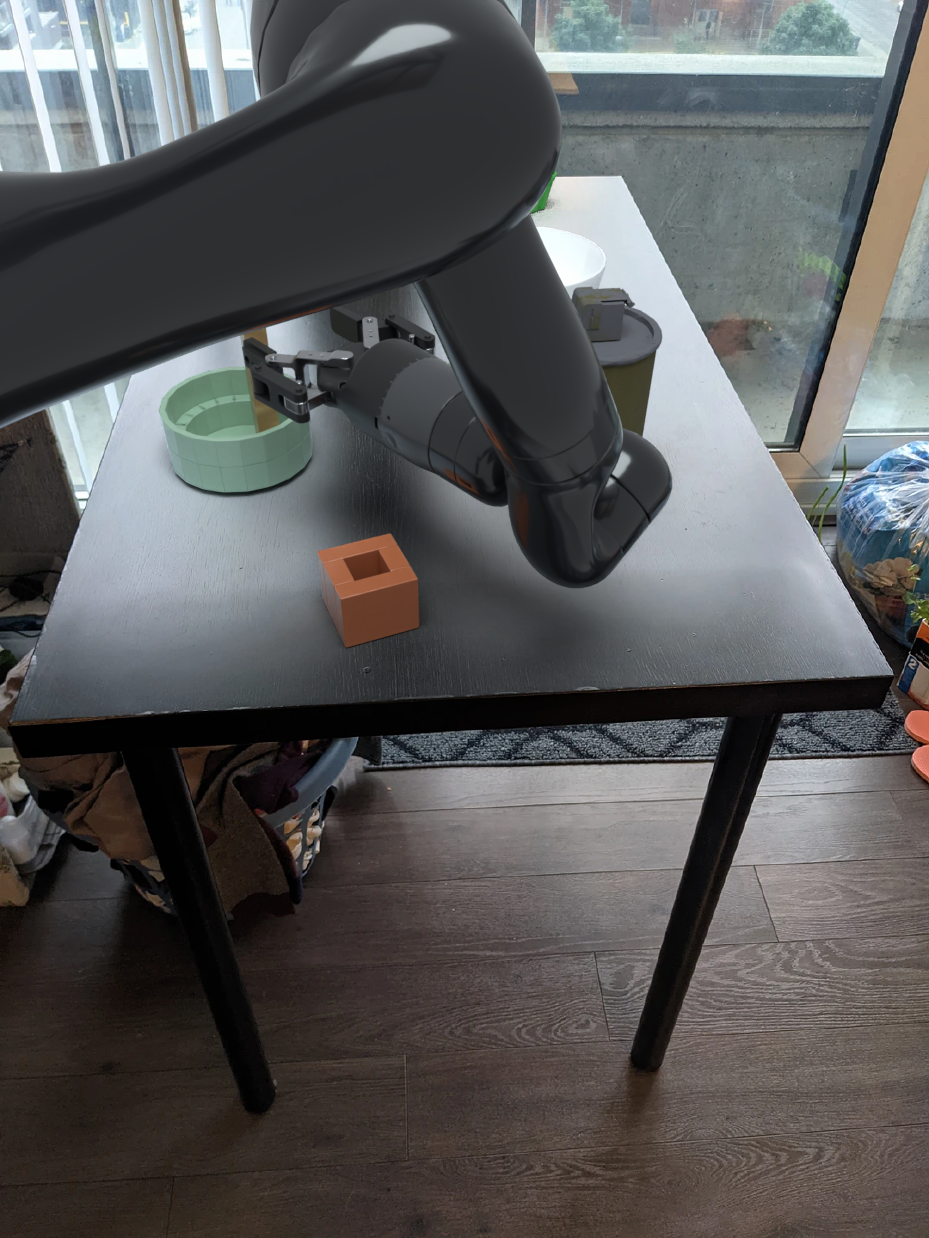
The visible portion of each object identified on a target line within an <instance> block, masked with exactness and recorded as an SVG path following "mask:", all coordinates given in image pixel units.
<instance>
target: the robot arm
mask: <svg viewBox="0 0 929 1238" xmlns="http://www.w3.org/2000/svg"><path fill="white" fill-rule="evenodd" d="M251 3H252V4H251V13H250V24H249V37H250V49H251V61H252V62H251V63H252V70H253V77H254V80H255V83H256V87H257V91H258V94H259V99H258V100H255V101H254V102H253V103H251V104H249V105H247V106H244V107H243V108H241V109H239V110H237V111H235V112H234V113H231V114H230V115H228V116H226V117H223V118H221V119H219V120H217V121H214V122H212V123H210V124H208V125H206V126H204V127H203V126H202V127H201V128H199V129H197V130H194V131H192V132H190V133H188V134H186V135H183V136H181V137H179V138H177V139H175V140H172V141H170V142H167V143H165V144H163V145H161V146H159V147H157V148H154V149H151V150H149V151H146V152H143V153H140V154H137V155H135V156H132V157H129V158H126V159H122V160H118V161H116V162H110V163H107V164H103V165H98V166H95V167H89V168H82V169H75V170H74V169H73V170H68V171H10V170H9V171H8V170H0V430H2V429H5V428H6V427H8V426H11V425H12V424H14V423H17V422H19V421H21V420H23V419H26V418H27V417H30V416H32V415H34V414H36V413H39V412H41V411H44V410H46V409H50V408H52V407H54V406H56V405H60V404H62V403H64V402H66V401H70V400H71V399H74V398H76V397H77V398H78V397H80V396H82V395H84V394H88V393H90V392H93V391H95V390H98V389H100V388H103V387H105V386H107V385H110V384H113V383H116V382H118V381H120V380H123V379H126V378H128V377H131V376H134V375H136V374H138V373H141V372H144V371H146V370H149V369H152V368H154V367H156V366H159V365H162V364H164V363H167V362H170V361H173V360H175V359H178V358H181V357H183V356H186V355H188V354H191V353H194V352H196V351H198V350H201V349H204V348H207V347H210V346H213V345H215V344H218V343H222V342H225V341H228V340H230V339H234V338H236V337H240V336H241V335H244V334H247V333H250V332H254V331H257V330H260V329H263V328H266V329H267V328H270V327H274V326H277V325H280V324H283V323H287V322H290V321H293V320H297V319H300V318H304V317H308V316H310V315H314V314H317V313H321V312H324V311H328V310H329V320H330V321H329V322H330V328H331V331H332V332H333V333H334V334H336V335H337V336H339V337H341V338H343V339H345V340H346V341H349V342H348V343H345V344H343V345H341V346H340V347H339V348H335V349H331V350H328V351H319V350H308V349H307V350H306V349H300V350H299V351H298V352H297V353H296V354H284V353H278V352H277V351H276V350H275V349H273V348H272V347H270V346H269V345H268V346H269V347H268V346H267V345H265V344H263V343H262V342H260V341H258V340H257V339H255V338H253V337H250V338H248V339H245V340H243V346H244V347H242V346H241V351H242V357H243V363H244V367H245V366H246V367H247V368H249V369H250V372H251V375H252V382H253V388H254V398H255V399H256V400H258V401H260V402H262V403H263V404H265V405H267V406H269V407H270V408H272V409H274V410H275V411H277V412H279V413H281V414H282V415H284V416H286V417H288V418H289V419H291V420H293V421H295V422H296V423H307V422H309V421H310V422H311V411H312V410H314V409H317V408H319V407H320V406H323V405H324V406H326V407H329V408H334V409H337V410H341V412H343V413H344V414H345V416H346V417H347V418H348V420H349V421H350V422H351V424H352V425H353V426H354V427H355V428H356V429H357V430H358V431H360V432H362V433H363V434H364V435H366V436H368V437H370V438H371V439H373V440H374V441H376V442H377V443H379V444H380V445H382V446H384V447H385V448H386V449H389V450H390V451H391V452H394V453H395V454H396V455H398V456H400V457H401V458H403V459H405V460H406V461H408V462H409V463H410V464H412V465H414V466H416V467H418V468H420V469H421V470H424V471H427V472H429V473H432V474H434V475H436V476H438V477H439V478H441V479H443V480H444V481H446V482H448V483H449V484H450V485H452V486H454V487H455V488H457V489H459V490H460V491H462V492H463V493H465V494H466V495H468V496H470V497H471V498H473V499H474V500H476V501H478V502H480V503H482V504H484V505H487V506H490V507H494V508H503V507H507V510H508V517H509V523H510V527H511V530H512V533H513V536H514V539H515V541H516V544H517V546H518V548H519V549H520V552H521V553H522V555H523V556H524V558H525V559H526V561H527V562H528V563H529V564H530V566H531V567H532V568H533V569H534V570H535V571H536V573H538V574H539V575H541V576H542V577H543V578H544V579H547V580H548V581H549V582H551V583H552V584H555V585H557V586H560V587H563V588H567V589H586V588H590V587H593V586H595V585H598V584H599V583H601V582H602V581H604V580H605V579H606V578H608V576H609V575H611V574H612V572H614V570H615V569H616V568H617V566H618V565H619V564H620V562H621V561H622V560H623V559H624V558H625V557H626V555H627V553H629V551H630V550H631V549H632V548H633V546H634V545H635V544H636V542H637V541H638V540H639V539H640V537H641V536H642V535H643V534H644V532H646V530H647V529H648V528H649V526H650V525H651V524H652V522H653V521H654V520H655V519H656V518H657V517H658V516H659V514H660V513H661V512H662V510H663V509H664V508H665V507H666V504H667V502H668V501H669V500H670V498H671V495H672V491H673V475H672V471H671V469H670V466H669V463H668V462H667V460H666V459H665V456H664V455H663V454H662V453H661V451H660V450H659V449H658V448H657V447H656V446H655V445H654V444H653V443H652V442H650V441H649V440H648V439H646V438H645V437H644V436H643V437H641V436H640V435H638V434H637V433H635V432H632V431H630V430H628V429H625V428H623V427H622V424H621V420H620V416H619V413H618V410H617V408H616V405H615V402H614V399H613V396H612V394H611V391H610V388H609V385H608V382H607V380H606V377H605V374H604V371H603V369H602V366H601V364H600V361H599V359H598V356H597V354H596V351H595V349H594V347H593V344H592V342H591V340H590V337H589V335H588V333H587V331H586V329H585V327H584V325H583V323H582V321H581V319H580V317H579V315H578V313H577V311H576V308H575V306H574V304H573V302H572V300H571V298H570V296H569V294H568V293H567V291H566V289H565V287H564V285H563V283H562V281H561V279H560V277H559V275H558V273H557V271H556V269H555V267H554V264H553V262H552V260H551V258H550V256H549V254H548V252H547V250H546V248H545V246H544V244H543V241H542V239H541V237H540V235H539V233H538V230H537V228H536V226H537V225H536V224H535V221H534V219H533V216H532V213H530V211H531V210H532V209H533V208H534V207H535V205H536V204H537V203H538V201H539V200H540V198H541V197H542V195H543V194H544V192H545V190H546V188H547V186H548V184H549V182H550V180H551V178H552V176H553V174H554V171H555V172H556V169H557V165H558V162H559V157H560V154H561V149H562V146H563V145H562V144H563V121H562V112H561V107H560V103H559V100H558V96H557V95H556V92H555V89H554V86H553V83H552V80H551V78H550V75H549V74H548V72H547V69H546V68H545V67H544V65H543V63H542V61H541V58H539V56H538V54H537V52H536V50H535V48H534V47H533V44H532V43H531V41H530V40H529V38H528V36H527V34H526V33H525V30H524V29H523V27H522V25H521V24H520V23H519V22H518V20H517V19H516V17H515V16H514V14H513V12H512V11H511V9H510V7H509V6H508V4H507V2H506V1H505V0H252V2H251ZM409 285H413V287H414V289H415V291H416V293H417V295H418V297H419V299H420V301H421V303H422V305H423V307H424V309H425V312H426V313H427V316H428V318H429V321H430V323H431V324H432V327H433V328H434V331H435V333H436V335H437V338H438V340H439V342H440V344H441V347H442V349H443V351H444V353H445V356H446V358H447V360H448V361H446V360H444V359H442V358H440V357H438V356H436V335H435V334H433V333H431V332H430V331H428V330H426V329H424V328H423V327H421V326H419V325H417V324H416V323H414V322H412V321H410V320H409V319H408V318H405V317H404V316H402V315H400V314H398V313H397V312H388V313H385V314H384V316H383V317H384V319H380V320H378V318H377V317H375V316H365V317H364V316H363V315H361V314H358V313H357V312H355V311H352V310H351V309H348V308H347V309H346V308H344V307H342V306H344V305H347V304H351V303H354V302H357V301H361V300H364V299H368V298H370V297H374V296H377V295H381V294H384V293H387V292H391V291H394V290H397V289H400V288H403V287H406V286H409ZM309 365H311V366H316V384H314V383H313V382H312V381H311V378H310V369H309ZM284 369H291V370H293V372H294V377H293V378H288V377H285V376H284V373H285V372H284Z"/></svg>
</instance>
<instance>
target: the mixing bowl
mask: <svg viewBox="0 0 929 1238" xmlns="http://www.w3.org/2000/svg"><path fill="white" fill-rule="evenodd" d="M283 373H284V376H285V377H288V378H294V377H293V376H292V375H290V374H289V373H285V372H283ZM158 414H159V418H160V421H161V422H160V423H161V427H162V431H163V435H164V439H165V444H166V448H167V452H168V457H169V461H170V464H171V466H172V469H173V472H174V473H175V475H177V476H178V477H180V478H181V480H183V481H184V482H185V483H186V484H189V485H192V486H194V487H196V488H199V489H202V490H204V491H205V490H206V491H211V492H212V491H213V492H219V493H243V492H244V493H245V492H251V491H252V492H253V491H256V490H261V489H265V488H269V487H270V488H271V487H273V486H276V485H278V484H280V483H282V482H284V481H287V480H290V479H291V478H292V477H294V476H295V475H297V474H298V473H299V472H300V471H301V470H303V469H305V467H306V465H308V463H309V461H310V459H311V458H312V456H313V450H314V449H313V447H314V441H313V435H312V434H313V431H312V424H311V420H310V421H309V422H307V423H296V422H295V421H293V420H291V419H289V418H288V417H286V416H284V415H282V414H281V413H279V412H278V417H279V425H278V426H275V427H273V428H270V429H268V430H265V431H263V432H260V433H256V432H255V426H254V420H253V413H252V407H251V401H250V395H249V388H248V382H247V376H246V370H245V366H227V367H221V368H217V369H210V370H207V371H204V372H201V373H198V374H195V375H191V376H189V377H187V378H185V379H183V380H182V381H180V382H179V383H177V384H175V385H174V386H172V387H171V388H170V389H169V390H168V391H167V392H166V393H165V394H164V395H163V396H162V397H161V400H160V404H159V408H158Z"/></svg>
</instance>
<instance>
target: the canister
mask: <svg viewBox="0 0 929 1238" xmlns="http://www.w3.org/2000/svg"><path fill="white" fill-rule="evenodd" d="M571 300H572V302H573V304H574V306H575V308H576V311H577V313H578V315H579V317H580V319H581V321H582V323H583V325H584V327H585V329H586V331H587V333H588V335H589V337H590V340H591V342H592V344H593V347H594V349H595V351H596V354H597V356H598V359H599V361H600V364H601V366H602V369H603V371H604V374H605V377H606V380H607V382H608V385H609V388H610V391H611V394H612V396H613V399H614V402H615V405H616V408H617V410H618V413H619V416H620V420H621V424H622V427H623V428H625V429H628V430H630V431H632V432H635V433H637V434H638V435H640V436H641V437H643V438H644V430H645V425H646V419H647V412H648V406H649V399H650V394H651V386H652V381H653V375H654V367H655V362H656V355H657V350H658V349H659V348H660V346H661V344H662V341H663V331H662V328H661V327H660V325H659V323H658V321H656V320H655V319H654V318H653V317H651V316H650V315H649V314H647V313H645V312H644V311H642V310H640V309H638V308H635V306H636V303H635V301H633V300H632V299H631V297H630V295H629V293H628V292H626V290H625V289H624V288H621V287H606V288H605V287H604V288H599V289H593V287H577V288H575V289H574V291H573V295H572V299H571Z"/></svg>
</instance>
